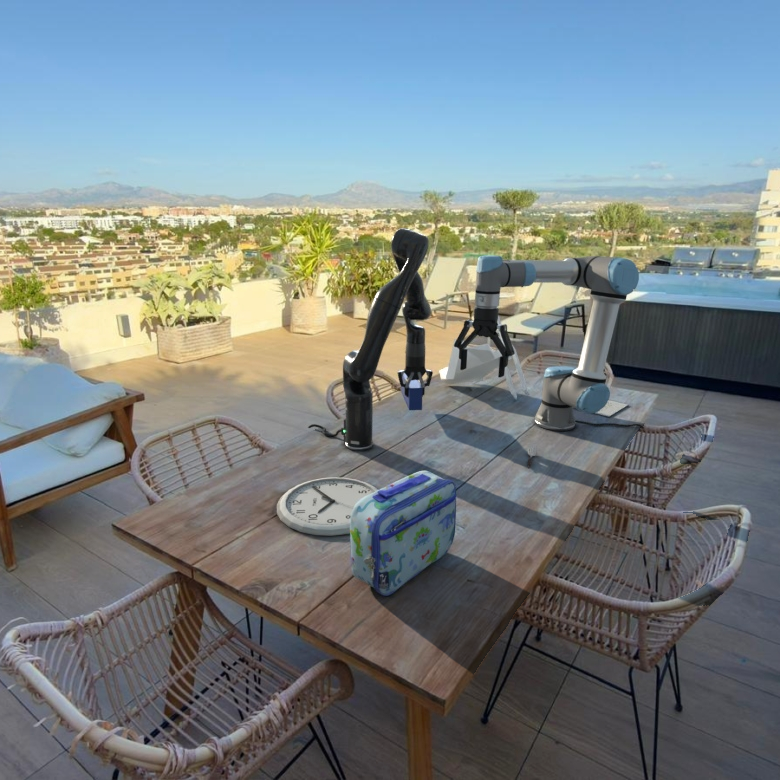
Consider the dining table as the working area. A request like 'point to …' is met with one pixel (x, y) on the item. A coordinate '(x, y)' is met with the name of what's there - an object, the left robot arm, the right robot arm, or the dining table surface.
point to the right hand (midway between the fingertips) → (481, 372)
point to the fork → (531, 456)
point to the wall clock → (322, 505)
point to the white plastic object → (480, 366)
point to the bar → (413, 394)
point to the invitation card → (611, 408)
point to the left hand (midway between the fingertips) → (414, 396)
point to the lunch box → (402, 530)
